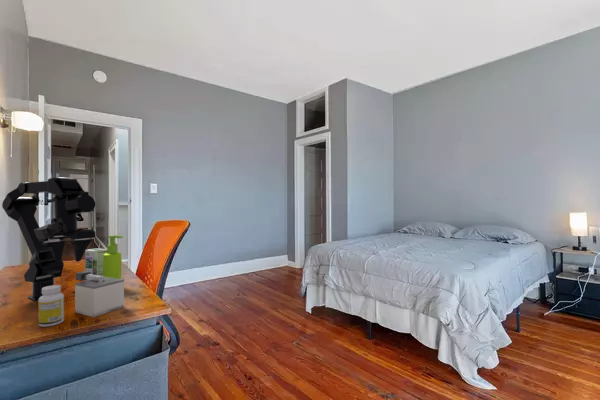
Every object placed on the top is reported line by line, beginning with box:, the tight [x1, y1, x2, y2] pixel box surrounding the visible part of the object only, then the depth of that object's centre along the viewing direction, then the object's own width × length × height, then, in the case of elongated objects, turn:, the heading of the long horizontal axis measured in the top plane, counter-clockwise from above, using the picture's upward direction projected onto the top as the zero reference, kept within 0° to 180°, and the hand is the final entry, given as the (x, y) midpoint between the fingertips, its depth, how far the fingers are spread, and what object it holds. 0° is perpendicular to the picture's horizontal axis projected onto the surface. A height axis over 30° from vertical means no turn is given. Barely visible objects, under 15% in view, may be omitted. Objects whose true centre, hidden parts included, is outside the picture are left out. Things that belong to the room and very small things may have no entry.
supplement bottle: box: [37, 284, 65, 328], centre depth 82 cm, size 5×5×10 cm
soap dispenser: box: [103, 234, 124, 279], centre depth 115 cm, size 6×7×20 cm
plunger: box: [75, 270, 103, 283], centre depth 94 cm, size 11×3×8 cm, turn 65°
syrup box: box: [84, 248, 107, 281], centre depth 117 cm, size 6×6×14 cm
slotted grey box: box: [74, 277, 125, 318], centre depth 92 cm, size 9×9×9 cm
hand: (68, 261), depth 100 cm, fingers open, 9 cm apart
